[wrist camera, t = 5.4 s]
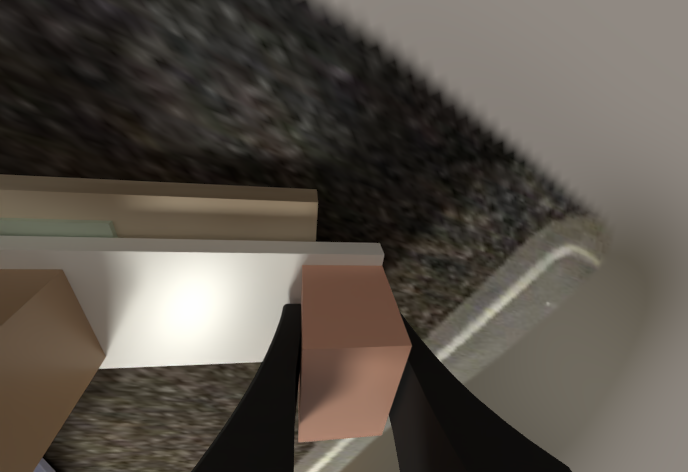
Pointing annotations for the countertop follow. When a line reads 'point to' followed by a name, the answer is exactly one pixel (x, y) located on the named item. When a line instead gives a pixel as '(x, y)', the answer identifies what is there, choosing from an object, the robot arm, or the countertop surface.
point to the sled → (191, 325)
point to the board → (154, 210)
